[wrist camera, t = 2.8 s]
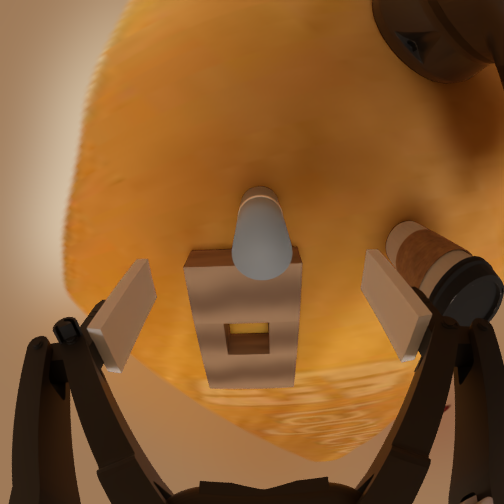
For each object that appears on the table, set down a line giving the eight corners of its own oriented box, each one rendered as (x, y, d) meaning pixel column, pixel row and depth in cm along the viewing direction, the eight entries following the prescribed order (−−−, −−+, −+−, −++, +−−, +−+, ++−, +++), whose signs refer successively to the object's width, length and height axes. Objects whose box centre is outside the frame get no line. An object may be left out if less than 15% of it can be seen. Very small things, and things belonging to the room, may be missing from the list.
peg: (239, 186, 28) (228, 225, 18) (278, 185, 28) (293, 223, 17) (241, 223, 30) (233, 281, 19) (279, 222, 30) (292, 279, 19)
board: (191, 250, 32) (183, 267, 28) (297, 246, 31) (302, 263, 28) (212, 368, 40) (209, 388, 36) (291, 366, 40) (293, 387, 36)
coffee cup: (438, 250, 31) (505, 315, 18) (389, 284, 33) (442, 365, 20) (420, 197, 28) (504, 251, 15) (365, 234, 30) (429, 312, 17)
